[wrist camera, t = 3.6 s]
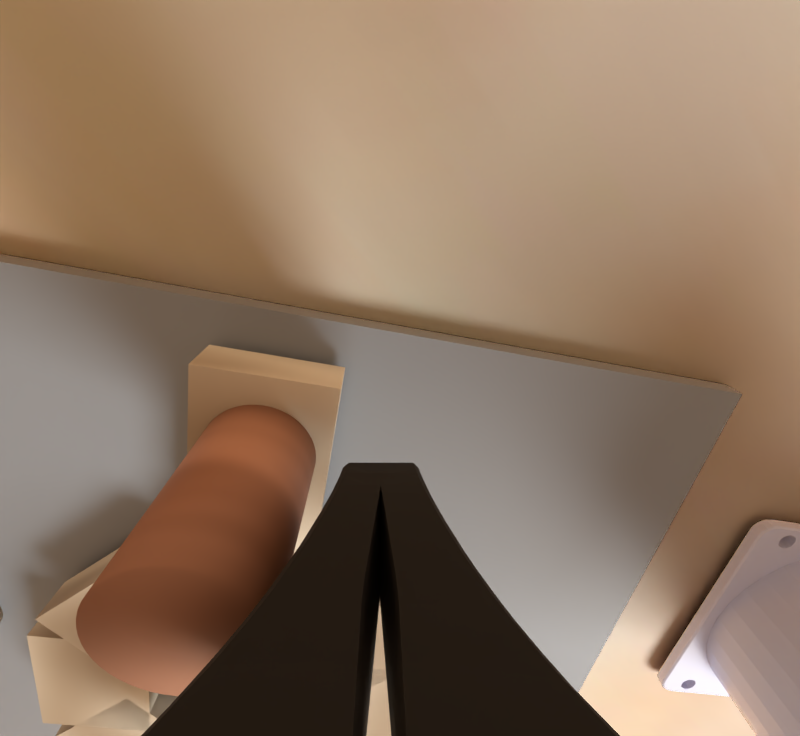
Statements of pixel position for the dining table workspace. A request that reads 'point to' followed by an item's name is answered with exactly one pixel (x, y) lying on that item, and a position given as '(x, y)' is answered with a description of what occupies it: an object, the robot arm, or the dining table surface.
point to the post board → (336, 446)
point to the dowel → (1, 614)
